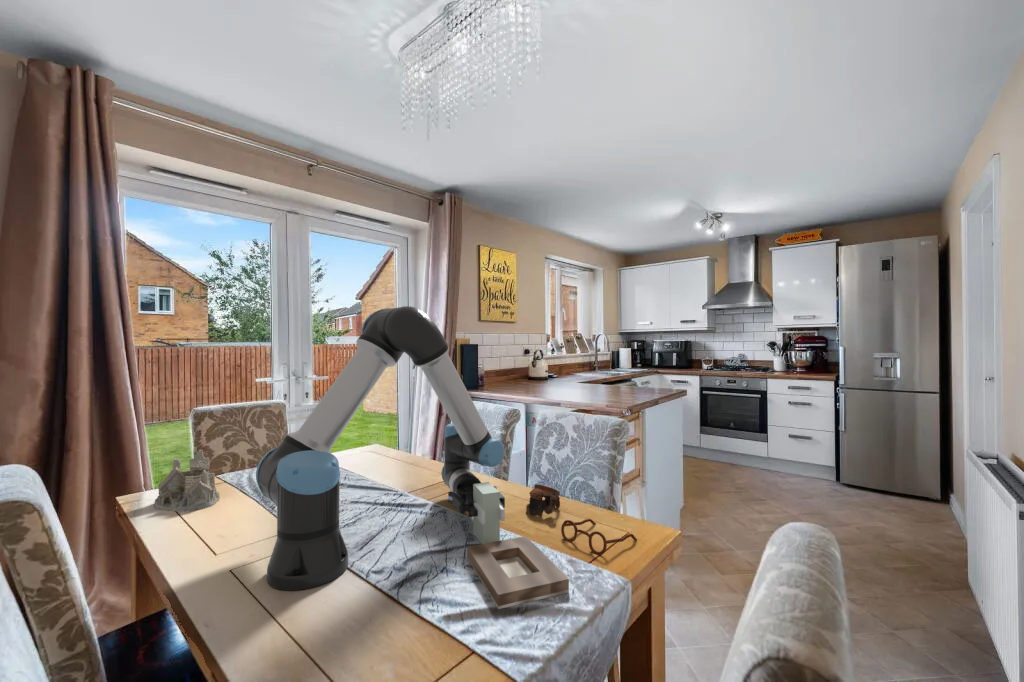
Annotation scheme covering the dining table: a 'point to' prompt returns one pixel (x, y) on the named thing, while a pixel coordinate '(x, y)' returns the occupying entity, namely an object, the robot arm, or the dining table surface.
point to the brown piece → (541, 505)
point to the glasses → (591, 535)
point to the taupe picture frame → (516, 571)
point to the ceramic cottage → (188, 487)
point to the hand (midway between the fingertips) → (493, 516)
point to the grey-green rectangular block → (487, 512)
